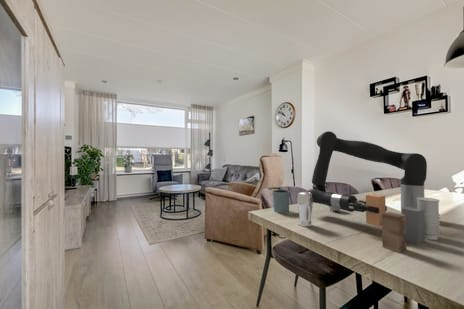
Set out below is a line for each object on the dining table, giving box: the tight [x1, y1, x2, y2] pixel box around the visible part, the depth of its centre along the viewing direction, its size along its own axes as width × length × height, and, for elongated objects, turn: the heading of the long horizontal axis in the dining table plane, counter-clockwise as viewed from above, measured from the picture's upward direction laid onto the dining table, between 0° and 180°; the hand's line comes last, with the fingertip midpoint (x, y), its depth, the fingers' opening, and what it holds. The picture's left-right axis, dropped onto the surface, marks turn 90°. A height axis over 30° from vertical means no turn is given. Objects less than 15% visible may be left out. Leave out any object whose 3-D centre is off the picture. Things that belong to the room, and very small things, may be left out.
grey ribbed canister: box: [417, 197, 441, 241], centre depth 84 cm, size 7×7×15 cm
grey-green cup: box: [272, 189, 291, 214], centre depth 124 cm, size 10×10×12 cm
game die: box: [328, 206, 341, 213], centre depth 123 cm, size 9×8×10 cm
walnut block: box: [381, 211, 407, 254], centre depth 74 cm, size 5×5×12 cm
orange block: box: [365, 193, 387, 228], centre depth 88 cm, size 5×5×12 cm
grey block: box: [402, 207, 425, 245], centre depth 81 cm, size 5×5×12 cm
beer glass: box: [296, 191, 314, 228], centre depth 100 cm, size 7×7×15 cm
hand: (382, 209), depth 86 cm, fingers closed on orange block, 5 cm apart
